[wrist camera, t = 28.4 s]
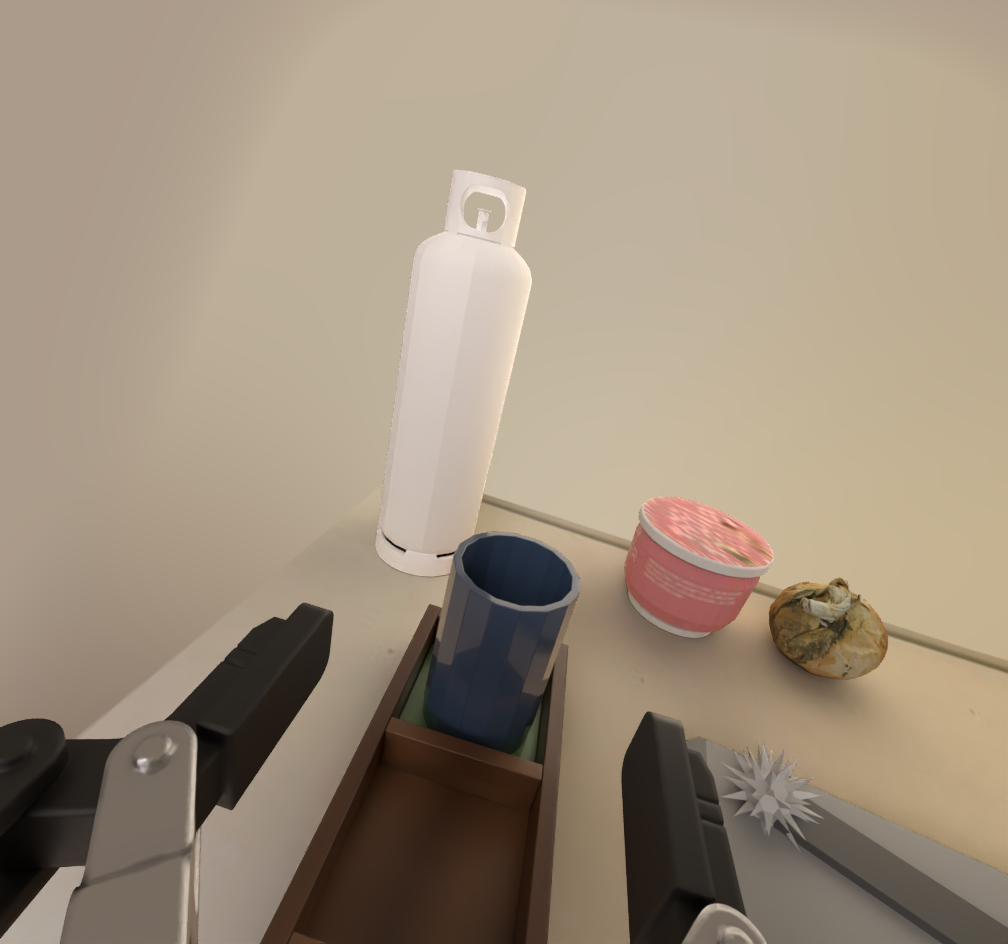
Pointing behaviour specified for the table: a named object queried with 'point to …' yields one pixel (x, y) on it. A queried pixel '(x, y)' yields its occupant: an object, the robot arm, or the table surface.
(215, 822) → the table surface
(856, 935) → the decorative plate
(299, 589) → the table surface
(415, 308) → the bottle
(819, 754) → the table surface
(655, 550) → the container
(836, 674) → the onion
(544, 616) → the cup
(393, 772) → the holder
